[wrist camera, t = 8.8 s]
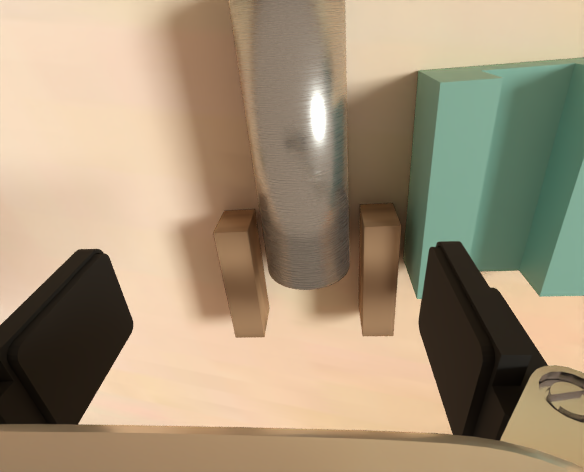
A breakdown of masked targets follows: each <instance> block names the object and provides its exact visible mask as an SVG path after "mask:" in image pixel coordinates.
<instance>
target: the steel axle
mask: <svg viewBox="0 0 584 472" xmlns="http://www.w3.org/2000/svg"><path fill="white" fill-rule="evenodd" d="M228 2H229V9H230V16H231V22H232V29H233V36H234V42H235V49H236V56H237V63H238V69H239V76H240V83H241V89H242V96H243V103H244V109H245V116H246V123H247V129H248V136H249V143H250V150H251V156H252V163H253V170H254V176H255V183H256V190H257V196H258V203H259V210H260V216H261V223H262V230H263V236H264V243H265V250H266V257H267V263H268V270H269V274H270V276H271V277H272V278H273V279H274V280H275V281H276V282H277V283H279V284H281V285H283V286H285V287H288V288H293V289H300V290H311V289H318V288H323V287H326V286H329V285H332V284H334V283H336V282H337V281H339V280H340V279H342V278H343V277H344V276H345V275H346V273H347V272H348V269H349V265H350V261H349V201H348V141H347V81H346V21H345V0H228Z"/></svg>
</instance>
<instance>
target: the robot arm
mask: <svg viewBox="0 0 584 472" xmlns="http://www.w3.org/2000/svg"><path fill="white" fill-rule="evenodd" d="M132 330H133V320H132V317H131V314H130V312H129V309H128V306H127V304H126V301H125V298H124V296H123V293H122V290H121V288H120V285H119V282H118V280H117V277H116V274H115V272H114V269H113V266H112V264H111V261H110V258H109V256H108V255H107V254H104V253H103V252H102V251H101V250H100V249H81V250H77V251H76V252H75V253H74V254H73V255H72V256H71V257H70V258H69V259H68V260H67V261H66V262H65V263H64V264H63V265H62V266H61V267H59V268H58V269H57V270H56V271H55V272H54V273H53V274H52V275H51V276H50V277H49V278H48V279H47V280H46V281H45V282H44V283H43V284H42V285H41V286H40V287H39V288H38V289H37V290H36V291H35V292H34V293H33V294H32V295H31V296H30V297H29V298H28V299H27V300H26V301H25V302H24V303H23V304H22V305H21V306H20V307H19V308H18V309H16V310H15V311H14V312H13V313H12V314H11V315H10V316H9V317H8V318H7V319H6V320H5V321H4V322H3V323H2V324H1V325H0V472H584V373H582V372H580V371H577V370H574V369H571V368H569V367H563V366H557V365H553V366H548V365H547V363H546V362H545V360H544V359H543V357H542V356H541V354H540V353H539V351H538V350H537V348H536V347H535V345H534V344H533V342H532V340H531V339H530V337H529V336H528V334H527V333H526V331H525V330H524V328H523V327H522V325H521V324H520V322H519V321H518V319H517V318H516V316H515V315H514V313H513V312H512V310H511V308H510V307H509V305H508V304H507V302H506V301H505V299H504V298H503V296H502V295H501V293H500V292H499V291H498V290H497V289H495V288H490V287H489V286H488V284H487V282H486V281H485V279H484V278H483V276H482V274H481V273H480V271H479V270H478V268H477V267H476V265H475V263H474V262H473V260H472V259H471V257H470V255H469V254H468V252H467V251H466V249H465V248H464V246H463V244H462V243H461V242H460V241H441V242H437V244H436V247H430V249H429V253H428V260H427V267H426V273H425V280H424V287H423V294H422V301H421V308H420V314H419V330H420V334H421V337H422V340H423V343H424V346H425V349H426V352H427V356H428V359H429V362H430V365H431V368H432V371H433V374H434V377H435V380H436V384H437V387H438V390H439V393H440V396H441V399H442V402H443V405H444V408H445V411H446V415H447V418H448V421H449V424H450V427H451V430H452V433H453V435H450V434H438V433H416V432H392V431H368V430H330V429H290V428H248V427H199V426H145V425H78V423H79V421H80V420H81V418H82V416H83V415H84V413H85V411H86V409H87V408H88V406H89V404H90V403H91V401H92V399H93V398H94V396H95V394H96V392H97V391H98V389H99V387H100V386H101V384H102V382H103V381H104V379H105V377H106V375H107V374H108V372H109V370H110V369H111V367H112V365H113V363H114V362H115V360H116V358H117V357H118V355H119V353H120V352H121V350H122V348H123V346H124V345H125V343H126V341H127V340H128V338H129V336H130V334H131V333H132Z"/></svg>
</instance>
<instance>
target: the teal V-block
mask: <svg viewBox="0 0 584 472" xmlns="http://www.w3.org/2000/svg"><path fill="white" fill-rule="evenodd" d="M441 241H460V242H461V243H462V244H463V246H464V248H465V249H466V251H467V252H468V254H469V255H470V257H471V259H472V260H473V262H474V263H475V265H476V267H477V268H478V270H479V271H514V270H519V271H520V272H521V273H522V275H523V276H524V277H525V278H526V280H527V281H528V282H529V284H530V285H531V286H532V287H533V289H534V290H535V291H536V292H537V294H538V295H539V296H584V58H572V59H559V60H546V61H534V62H521V63H508V64H496V65H483V66H470V67H458V68H445V69H432V70H420V71H418V81H417V93H416V106H415V118H414V131H413V143H412V156H411V168H410V180H409V193H408V205H407V218H406V230H405V243H404V255H403V259H404V262H405V265H406V268H407V271H408V274H409V277H410V280H411V283H412V286H413V289H414V292H415V295H416V298H417V299H422V294H423V287H424V280H425V273H426V267H427V260H428V253H429V249H430V247H436V244H437V242H441Z"/></svg>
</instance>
